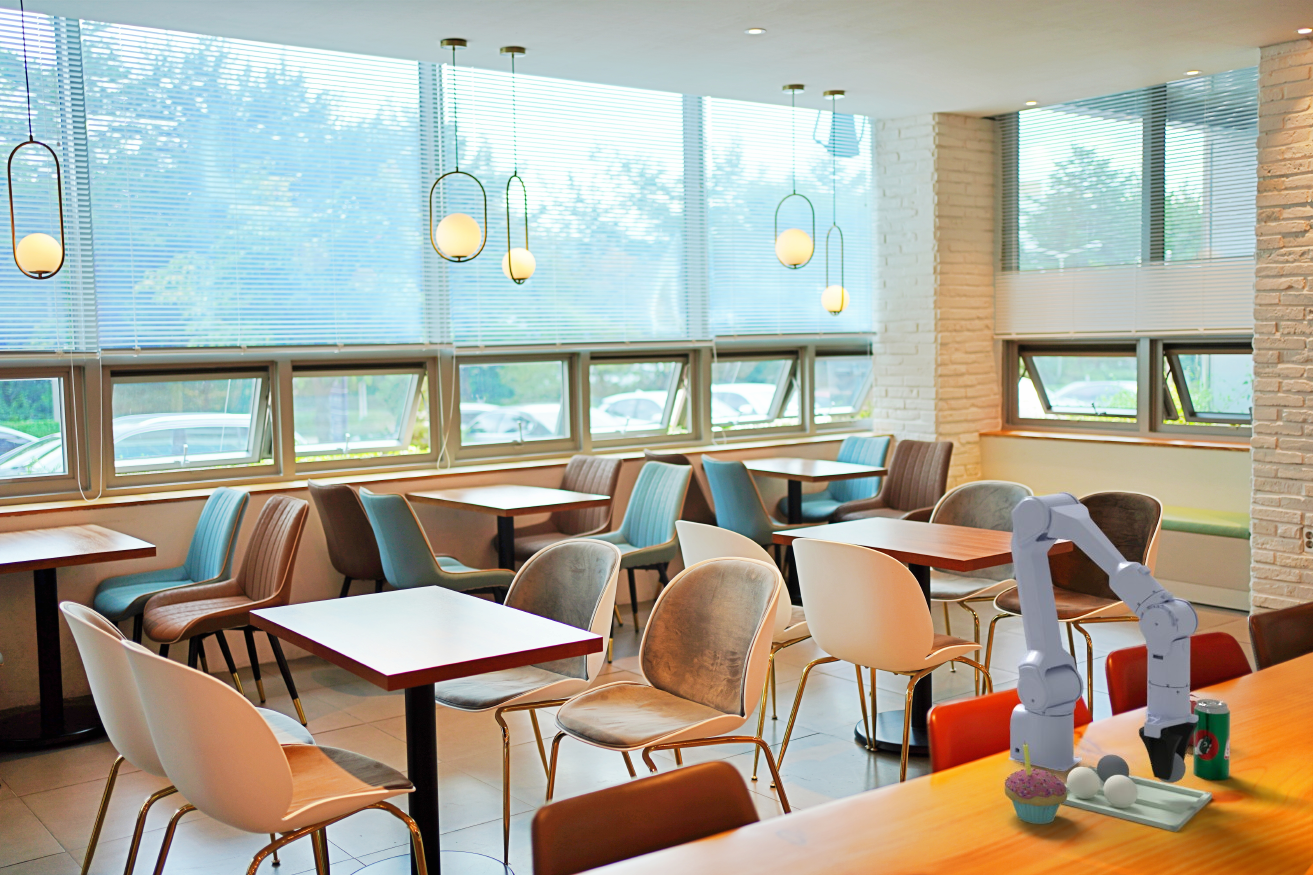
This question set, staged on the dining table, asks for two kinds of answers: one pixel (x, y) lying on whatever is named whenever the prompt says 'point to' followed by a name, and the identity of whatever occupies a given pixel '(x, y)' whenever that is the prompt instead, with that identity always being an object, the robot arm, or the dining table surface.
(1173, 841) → the dining table surface
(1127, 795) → the cream ball middle
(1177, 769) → the charcoal ball front
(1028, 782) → the cupcake
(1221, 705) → the soda can
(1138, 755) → the dining table surface
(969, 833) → the dining table surface
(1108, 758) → the charcoal ball back
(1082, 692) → the robot arm
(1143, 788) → the rack
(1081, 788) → the cream ball left
